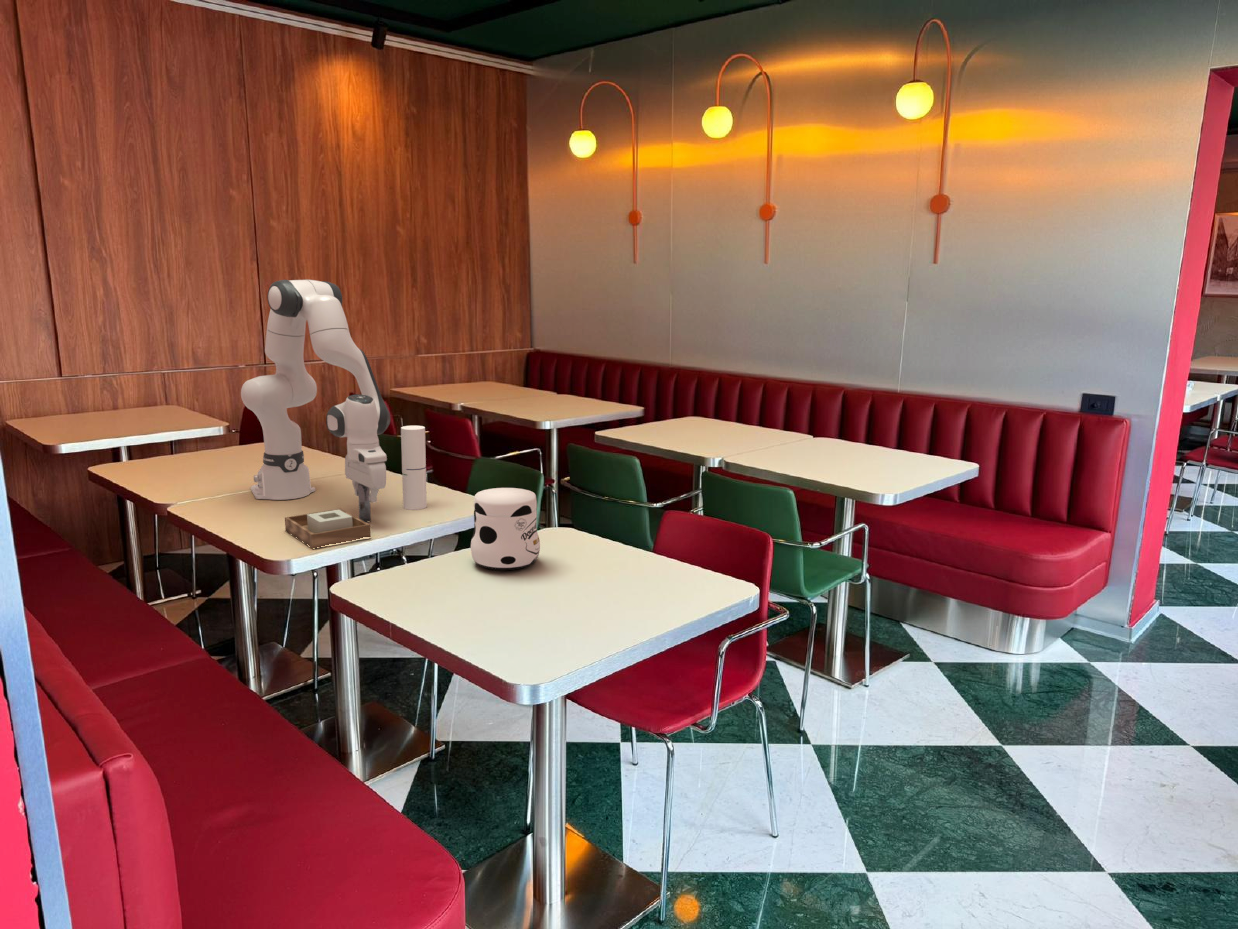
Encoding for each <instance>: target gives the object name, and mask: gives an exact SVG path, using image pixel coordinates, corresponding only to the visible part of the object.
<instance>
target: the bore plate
mask: <svg viewBox="0 0 1238 929" xmlns="http://www.w3.org/2000/svg"><path fill="white" fill-rule="evenodd" d="M332 510H333V511H329V510H326V511H327V512H322V511H319V512H320V513H316V512H313V513H314V514H310V513H306V514H307V524H308V530H309V531H311V532H312V533H314V534H315V533H320V532H326V531H332V530H338V529H344V528H349V527H353V522H352V516H350V515H348V514H346V513H344V512H343V511H341V510H335V509H332Z"/></svg>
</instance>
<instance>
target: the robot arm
mask: <svg viewBox="0 0 1238 929" xmlns="http://www.w3.org/2000/svg"><path fill="white" fill-rule="evenodd" d="M268 288H269V289H268V291H267V298H266V299H267V303H268V306H269V308H270V309H269V310H270V311H269V314H268V318H267V324H266V333H265V334H266V336H265V343H264V344H265V345H264V353H265V356H266V357H267V358H268V359H269V360H270V361H272V362H273V363H274V365H275V369H276V370H275V373H274V374H267V375H259V376H256V377H253V378H251V379H248V380H245V382H244V383H243V384H242V386H241V389H240V397H241V398H240V399H241V401H242V403H243V405H244V406H245V407H246V408H247V409H248V410H250V411H252V412H253V413H254V416H256V417H257V420H258V421H259V422H260V426H261V428H262V434H263V445H264V453H263V456H262V462H263V464H262V466H261V467H260V469H259V470H258V471H257V473H256V474H254V475H253V482H254V483H257V484H253V485H251V486H250V491H251V492H252V494H253V496H254V498H255V499H257V500H273V501H276V500H277V501H280V500H281V501H283V500H284V501H285V500H294V499H301V498H304V497H306V496H308V495H310V494H311V493H314V492H316V487H314V486H312V485H311V477H310V469H309V467H308V466H307V464H305V454H304V450H303V448H302V446H303V445H302V429H301V427H300V425H299V424H298V423H296V422H295V421H294V420H291V418H290V417H289V415H288V409H290V408H297V407H301V406H304V405H306V404H308V403H310V402H312V401H314V400H315V398H316V397H317V393H318V386H317V382H316V380H315V379H314V378H313V376H312V375H310V374H309V373H308V370H307V368H306V365H305V361H304V360H305V359H304V351H305V339H306V338H305V337H306V324H308V326H307V327H308V331H309V332H308V333H309V337H310V343H311V347H312V349H313V352H314V354H315V355H316V356H317V358H319V359H320V360H322V361H323V362H325V363H327V364H329V365H333V366H336V367H338V368H342V369H344V370H346V371H348V372H349V373H351V374H352V375H353V376H354V377H355V379H356V382H357V386H358V387H359V390H360V393H361V394H351V395H349V396H347V397H346V399H345V401H343V402H342V403H339V404H336V405H333V406H332V407H330V408H329V409H328V411H327V414H326V417H325V418H326V419H325V421H326V428H327V430H328V431H329V432H330V434H332V435H333V436H335V437H337V438H346V450H347V451H346V452H347V454H346V455H345V456H344V459H345V460H344V475H345V478H346V479H348V480H350V481H351V482H352V487H353V490H354V495H355V496H357V497H358V484H362V485H364V486H367V487H369V490H370V496H369V501H370V503H377V501H378V498H377V496H378V494H379V492H380V491H379V490H381V489H385V488H386V484H387V466H386V462H387V460H388V458H387V457H388V456H387V453H385V452H384V450H383V449H382V447H381V446H380V440H379V436H378V435H382V434H383V433H384V432H385V431H387V429H388V428H389V426H390V423H391V414H390V411H389V409H388V407H387V405H386V403H385V401H384V399H383V396H382V394H381V391H380V389H379V386H378V384H377V380H376V378H375V375H374V373H373V370H372V367H371V364H370V362H369V360H368V358H367V356H366V354H365V352H364V351H363V350H362V349H360V348H359V347H358V346H357V344H356V343H355V342H354V340H353V338H352V337H351V333H350V328H349V324H348V319H347V317H346V314H345V311H344V308H343V294H342V291H341V289H340V287H339V286H338V285H337V284H335V283H333V282H330V281H325V280H323V281H320V280H315V279H305V278H304V279H292V280H289V279H281V280H280V279H279V280H277V281H273V282H272V283H271V284H270V286H269V287H268Z"/></svg>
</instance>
